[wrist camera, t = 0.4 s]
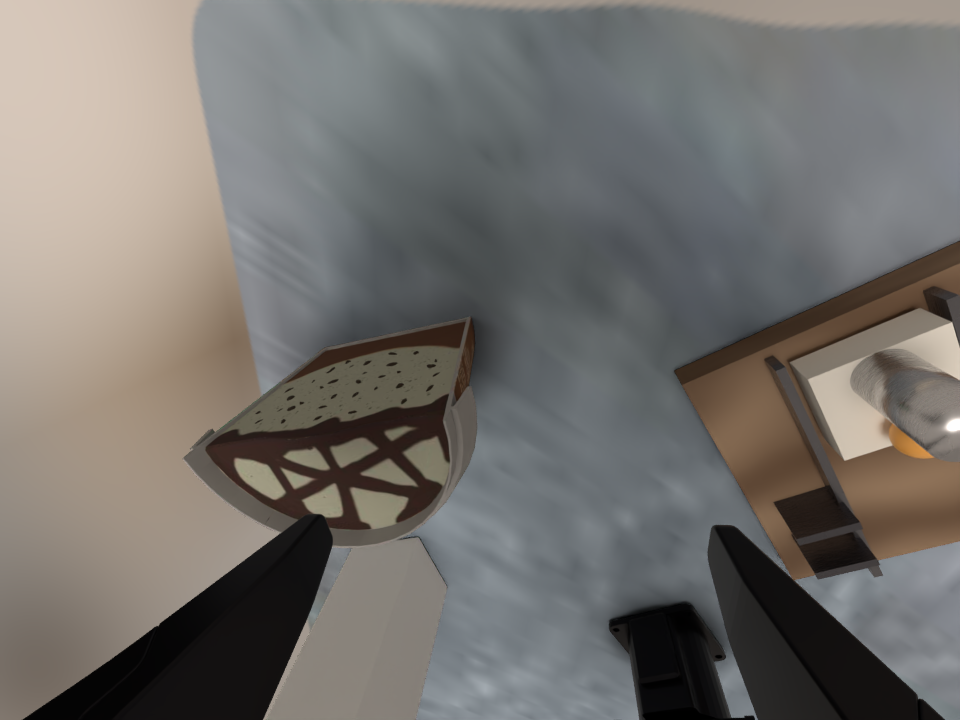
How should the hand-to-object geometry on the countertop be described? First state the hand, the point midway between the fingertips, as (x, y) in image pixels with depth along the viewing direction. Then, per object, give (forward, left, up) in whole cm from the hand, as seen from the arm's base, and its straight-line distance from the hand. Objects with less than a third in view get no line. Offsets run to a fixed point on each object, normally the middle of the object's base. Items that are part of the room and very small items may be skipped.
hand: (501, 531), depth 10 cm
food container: (0, +8, -14) cm, 16 cm away
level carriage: (-10, -12, -12) cm, 20 cm away
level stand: (-16, -12, -14) cm, 24 cm away
